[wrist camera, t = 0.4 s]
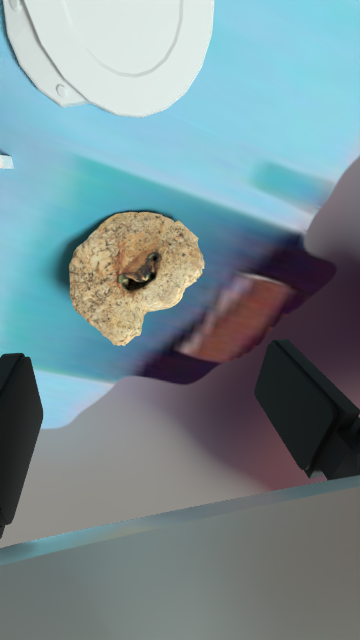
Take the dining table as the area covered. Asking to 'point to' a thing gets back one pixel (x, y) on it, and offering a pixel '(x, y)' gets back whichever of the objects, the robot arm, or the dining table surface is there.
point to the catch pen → (6, 162)
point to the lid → (111, 50)
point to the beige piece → (132, 271)
